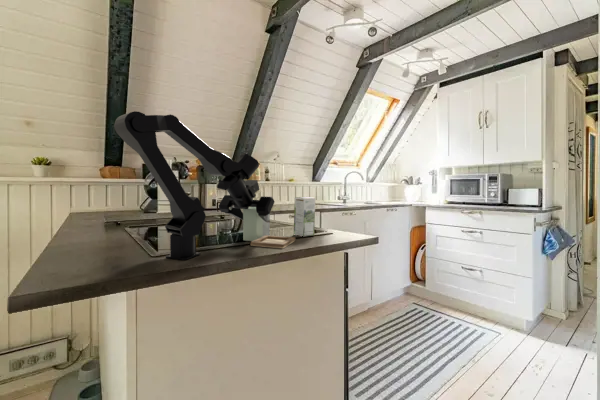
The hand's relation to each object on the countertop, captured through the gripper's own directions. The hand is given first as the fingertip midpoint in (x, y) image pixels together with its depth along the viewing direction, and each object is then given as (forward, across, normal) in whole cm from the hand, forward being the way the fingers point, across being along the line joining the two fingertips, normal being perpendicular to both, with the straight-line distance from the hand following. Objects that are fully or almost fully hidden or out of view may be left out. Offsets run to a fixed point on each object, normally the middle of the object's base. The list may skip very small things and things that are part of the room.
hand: (255, 219), depth 105 cm
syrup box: (+15, -13, -5) cm, 20 cm away
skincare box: (+9, +1, +1) cm, 9 cm away
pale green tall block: (+4, 0, +6) cm, 7 cm away
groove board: (+2, -9, +7) cm, 12 cm away
